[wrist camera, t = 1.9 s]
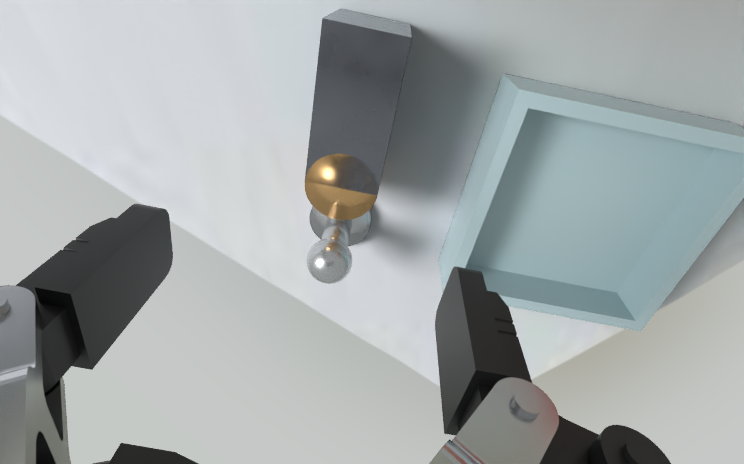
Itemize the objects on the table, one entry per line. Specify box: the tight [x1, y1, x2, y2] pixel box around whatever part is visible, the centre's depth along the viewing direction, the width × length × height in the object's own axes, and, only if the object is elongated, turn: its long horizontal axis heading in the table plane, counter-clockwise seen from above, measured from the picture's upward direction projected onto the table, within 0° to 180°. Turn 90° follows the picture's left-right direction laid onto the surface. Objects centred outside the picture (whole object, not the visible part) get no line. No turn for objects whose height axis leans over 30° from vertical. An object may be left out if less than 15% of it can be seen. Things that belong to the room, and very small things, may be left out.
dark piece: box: [305, 9, 412, 220], centre depth 23 cm, size 4×10×6 cm, turn 169°
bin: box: [439, 73, 744, 331], centre depth 26 cm, size 14×14×4 cm
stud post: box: [307, 206, 371, 284], centre depth 27 cm, size 4×4×7 cm
